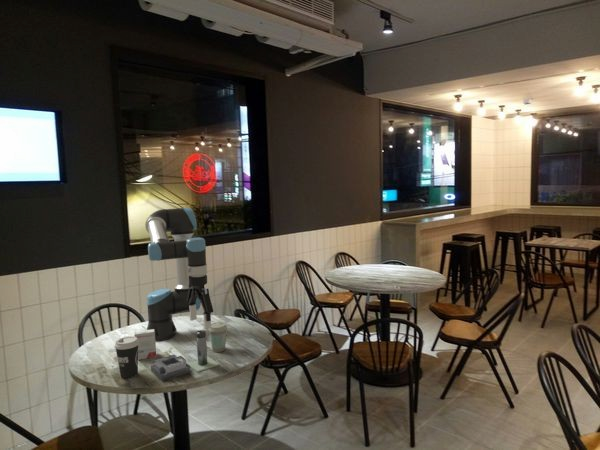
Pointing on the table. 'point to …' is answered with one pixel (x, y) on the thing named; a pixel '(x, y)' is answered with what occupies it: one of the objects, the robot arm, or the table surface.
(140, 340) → the ink box
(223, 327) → the coffee cup
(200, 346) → the dark glossy cylinder
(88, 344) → the table surface
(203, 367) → the mat
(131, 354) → the coffee cup
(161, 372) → the block
